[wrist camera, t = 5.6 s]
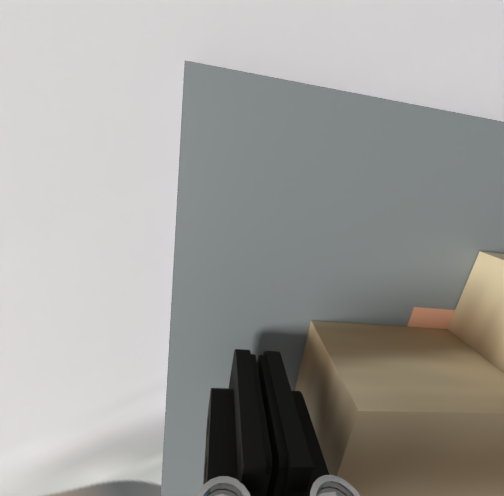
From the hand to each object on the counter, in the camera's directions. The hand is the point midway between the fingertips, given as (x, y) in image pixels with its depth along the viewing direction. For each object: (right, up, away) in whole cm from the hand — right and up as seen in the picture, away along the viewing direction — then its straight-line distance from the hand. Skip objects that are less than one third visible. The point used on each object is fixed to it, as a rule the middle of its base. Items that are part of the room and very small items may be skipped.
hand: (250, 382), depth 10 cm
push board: (+8, 0, +3) cm, 9 cm away
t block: (+7, 0, +2) cm, 7 cm away
